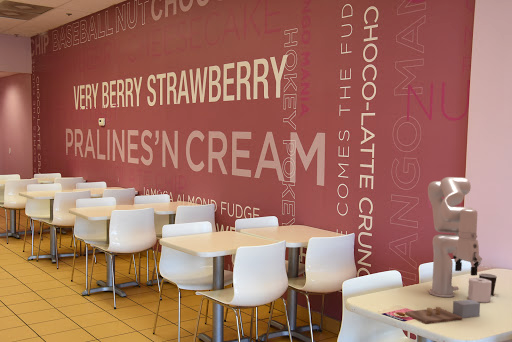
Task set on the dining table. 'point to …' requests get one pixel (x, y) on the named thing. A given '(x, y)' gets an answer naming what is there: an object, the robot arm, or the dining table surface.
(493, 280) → the coffee mug
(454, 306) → the block
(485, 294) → the toilet tissue
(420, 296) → the dining table surface
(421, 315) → the housing base
